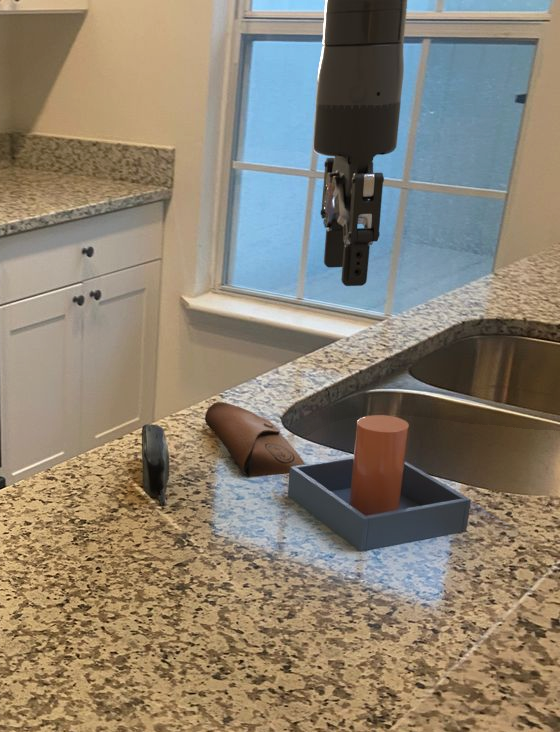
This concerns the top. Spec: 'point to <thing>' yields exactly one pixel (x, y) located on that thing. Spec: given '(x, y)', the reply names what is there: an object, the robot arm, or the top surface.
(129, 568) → the top surface
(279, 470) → the sunglasses case
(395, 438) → the reddish orange cylinder
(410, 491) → the plastic tray
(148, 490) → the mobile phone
